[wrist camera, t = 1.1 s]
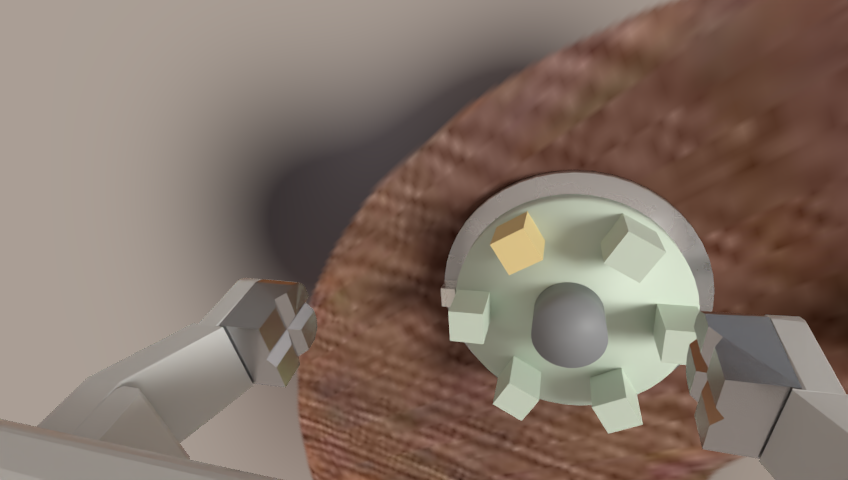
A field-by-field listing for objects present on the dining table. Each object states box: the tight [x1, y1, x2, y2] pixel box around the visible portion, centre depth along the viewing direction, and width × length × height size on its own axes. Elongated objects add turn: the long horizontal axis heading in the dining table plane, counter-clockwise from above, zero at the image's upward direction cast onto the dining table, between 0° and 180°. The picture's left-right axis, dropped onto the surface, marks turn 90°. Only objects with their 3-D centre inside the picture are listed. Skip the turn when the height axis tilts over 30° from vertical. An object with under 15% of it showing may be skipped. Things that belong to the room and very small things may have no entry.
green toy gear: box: [448, 194, 700, 434], centre depth 41 cm, size 21×21×6 cm
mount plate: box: [441, 170, 714, 370], centre depth 43 cm, size 24×24×3 cm
